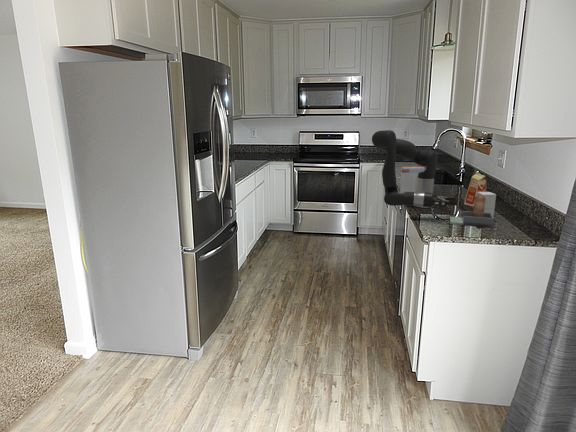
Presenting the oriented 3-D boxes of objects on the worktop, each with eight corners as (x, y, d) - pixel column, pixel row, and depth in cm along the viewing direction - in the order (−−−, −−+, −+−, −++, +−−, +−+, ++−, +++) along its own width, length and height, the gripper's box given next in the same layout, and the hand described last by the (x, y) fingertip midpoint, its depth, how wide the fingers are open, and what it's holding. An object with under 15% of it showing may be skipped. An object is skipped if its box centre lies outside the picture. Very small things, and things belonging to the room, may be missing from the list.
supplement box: (486, 213, 231) (489, 191, 228) (493, 217, 224) (496, 194, 220) (474, 213, 231) (476, 191, 227) (480, 217, 223) (483, 194, 220)
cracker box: (420, 198, 271) (423, 166, 266) (422, 200, 265) (425, 167, 260) (398, 197, 272) (400, 166, 267) (400, 199, 267) (402, 167, 261)
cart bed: (449, 218, 221) (450, 210, 220) (490, 221, 215) (491, 213, 213) (450, 224, 210) (451, 215, 209) (493, 227, 204) (494, 218, 202)
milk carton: (464, 203, 255) (467, 171, 250) (475, 202, 258) (479, 170, 253) (475, 207, 247) (479, 173, 242) (487, 205, 250) (491, 173, 245)
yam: (471, 218, 214) (475, 193, 210) (482, 219, 212) (485, 194, 209) (472, 221, 209) (475, 195, 206) (482, 222, 208) (486, 196, 204)
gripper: (423, 195, 210) (457, 197, 205) (423, 190, 223) (456, 192, 218) (422, 209, 212) (455, 211, 207) (422, 203, 225) (454, 205, 220)
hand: (456, 201), depth 212 cm, fingers open, 8 cm apart
